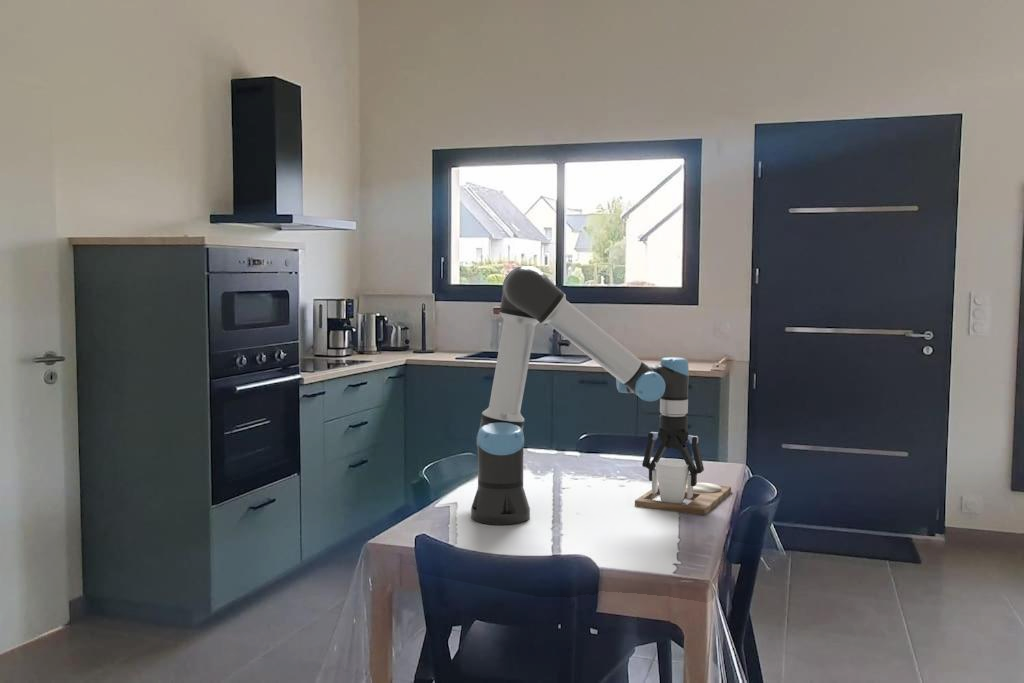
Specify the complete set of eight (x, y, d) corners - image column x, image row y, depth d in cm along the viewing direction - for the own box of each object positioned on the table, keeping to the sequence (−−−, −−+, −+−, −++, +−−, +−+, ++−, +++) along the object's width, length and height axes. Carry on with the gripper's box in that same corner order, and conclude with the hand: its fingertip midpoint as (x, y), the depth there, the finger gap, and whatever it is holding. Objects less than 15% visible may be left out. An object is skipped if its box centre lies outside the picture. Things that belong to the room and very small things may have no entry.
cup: (690, 507, 235) (691, 467, 234) (652, 505, 237) (653, 465, 236) (690, 498, 244) (691, 459, 244) (654, 496, 246) (655, 457, 246)
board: (704, 515, 227) (704, 507, 227) (634, 505, 236) (634, 498, 236) (731, 491, 252) (731, 485, 252) (667, 484, 261) (667, 477, 261)
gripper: (717, 415, 237) (715, 497, 239) (640, 409, 247) (638, 487, 249) (709, 419, 230) (708, 503, 232) (630, 412, 241) (629, 493, 242)
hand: (672, 495), depth 240 cm, fingers closed on cup, 9 cm apart
